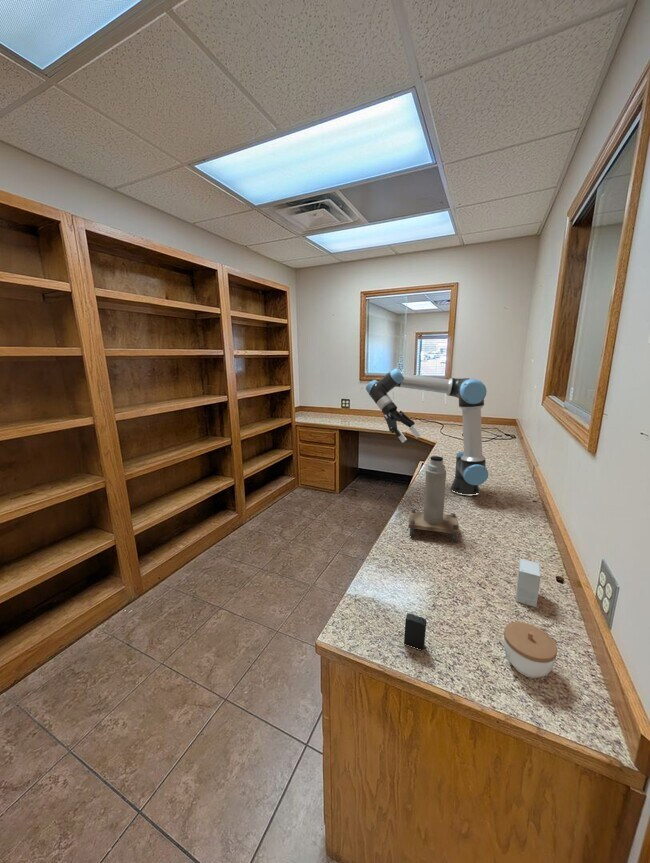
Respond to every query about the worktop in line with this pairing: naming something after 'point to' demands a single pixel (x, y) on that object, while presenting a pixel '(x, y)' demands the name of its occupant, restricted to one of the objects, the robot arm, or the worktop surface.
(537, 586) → the small box
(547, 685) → the worktop surface
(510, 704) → the worktop surface
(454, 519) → the peg shelf
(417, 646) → the ink cartridge
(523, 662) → the lidded jar
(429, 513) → the thermos bottle
